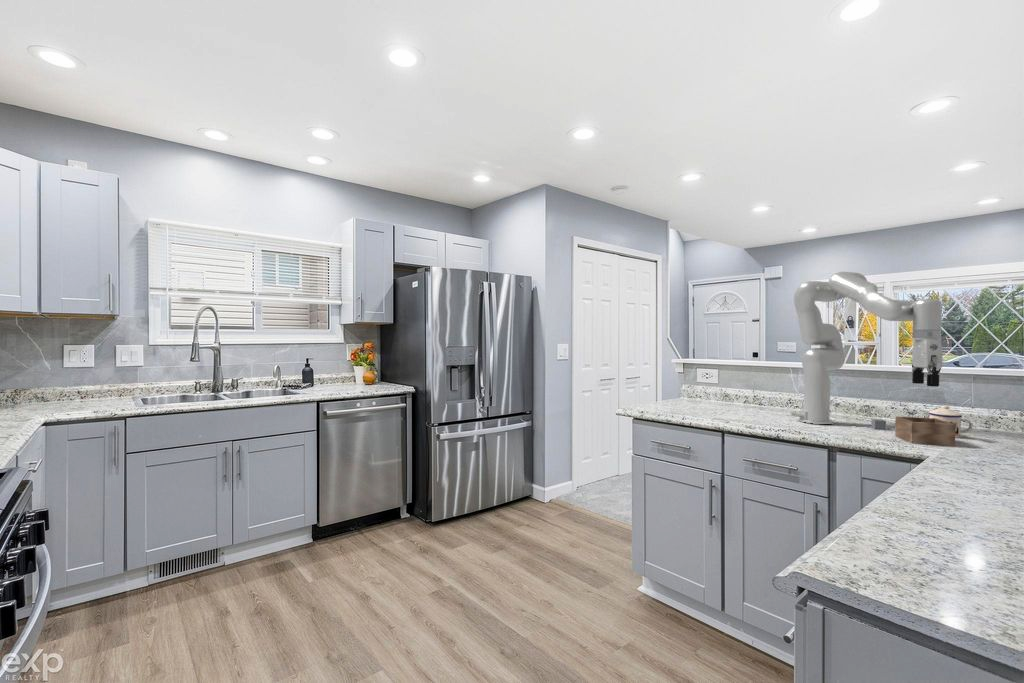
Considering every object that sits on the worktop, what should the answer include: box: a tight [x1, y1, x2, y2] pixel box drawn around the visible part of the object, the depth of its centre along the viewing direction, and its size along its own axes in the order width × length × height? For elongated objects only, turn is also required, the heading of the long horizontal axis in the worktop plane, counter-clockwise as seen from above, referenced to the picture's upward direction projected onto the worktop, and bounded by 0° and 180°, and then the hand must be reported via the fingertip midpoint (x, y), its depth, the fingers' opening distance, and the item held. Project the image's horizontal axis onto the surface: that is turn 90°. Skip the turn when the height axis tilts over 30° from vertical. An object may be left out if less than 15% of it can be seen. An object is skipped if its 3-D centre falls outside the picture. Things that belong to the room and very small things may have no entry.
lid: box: [863, 418, 895, 431], centre depth 188 cm, size 14×14×5 cm
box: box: [894, 415, 956, 447], centre depth 167 cm, size 12×12×8 cm
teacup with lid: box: [928, 405, 974, 439], centre depth 176 cm, size 12×9×12 cm
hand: (925, 384), depth 167 cm, fingers open, 9 cm apart
